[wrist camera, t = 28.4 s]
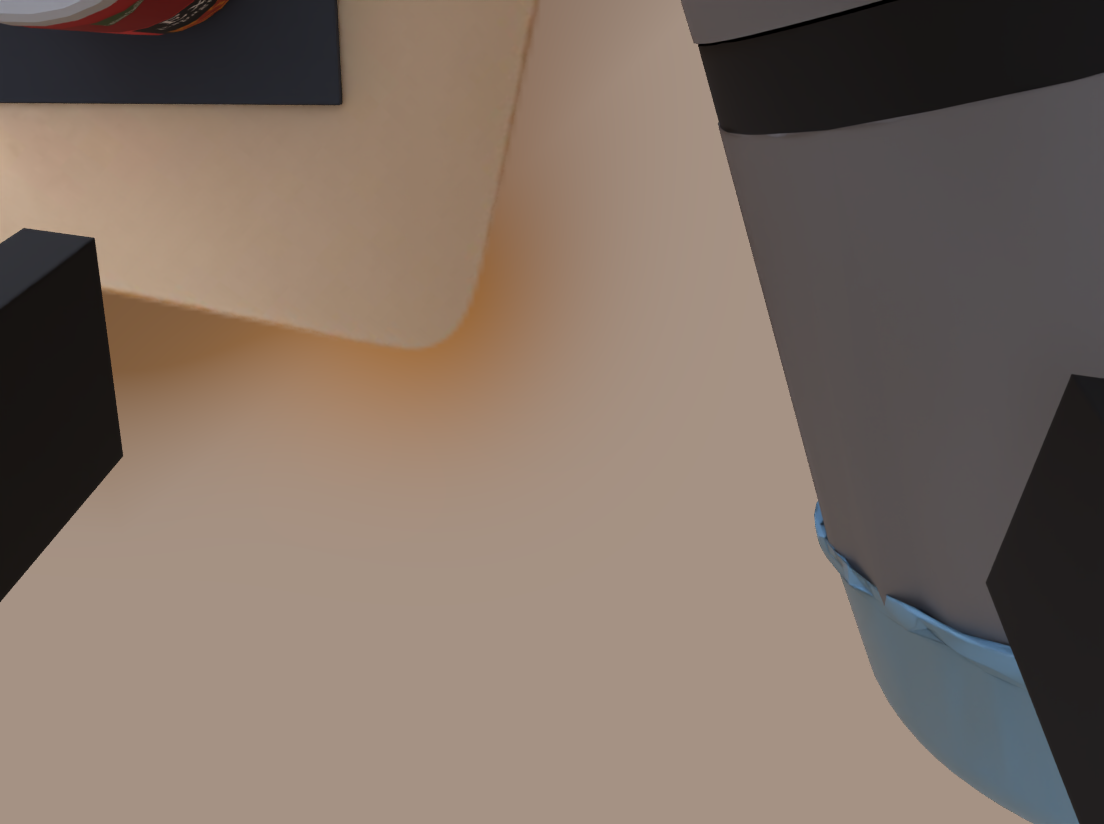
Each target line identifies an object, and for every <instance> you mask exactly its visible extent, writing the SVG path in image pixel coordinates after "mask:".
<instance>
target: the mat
mask: <svg viewBox="0 0 1104 824" xmlns="http://www.w3.org/2000/svg"><path fill="white" fill-rule="evenodd" d="M0 103H102V104H252V105H340V104H342V86H341V66H340V47H339V28H338V8H337V0H229V1H228V2H227V3H226V4H225V5H224V6H223V7H222V8H221V9H220V10H218V11H217V12H216V13H214V14H213V15H212V16H210V17H209V18H208V19H206V20H205V21H203V22H201V23H199V24H196V25H194V26H192V27H189V28H187V29H185V30H182V31H178V32H172V33H167V34H162V35H131V34H116V33H101V32H85V31H70V30H55V29H39V28H28V27H24V26H12V25H7V24H2V23H0Z"/></svg>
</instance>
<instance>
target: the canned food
mask: <svg viewBox="0 0 1104 824" xmlns="http://www.w3.org/2000/svg"><path fill="white" fill-rule="evenodd" d="M228 1H229V0H0V23H2V24H7V25H12V26H24V27H28V28H39V29H55V30H70V31H85V32H101V33H116V34H131V35H162V34H167V33H172V32H178V31H182V30H185V29H187V28H189V27H192V26H194V25H196V24H199V23H201V22H203V21H205V20H206V19H208V18H209V17H210V16H212V15H213V14H214V13H216V12H217V11H218V10H220V9H221V8H222V7H223V6H224V5H225V4H226V3H227V2H228Z"/></svg>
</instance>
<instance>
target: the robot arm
mask: <svg viewBox="0 0 1104 824" xmlns="http://www.w3.org/2000/svg"><path fill="white" fill-rule="evenodd" d="M681 3H682V6H683V9H684V13H685V16H686V19H687V23H688V26H689V29H690V32H691V36H692V39H693V41H694V43H696V44H698V47H699V50H700V54H701V58H702V61H703V65H704V69H705V72H706V76H707V80H708V83H709V87H710V90H711V94H712V98H713V102H714V105H715V109H716V113H717V116H718V120H719V123H718V125H719V130H720V134H721V137H722V141H723V145H724V148H725V152H726V156H727V160H728V163H729V167H730V171H731V175H732V179H733V182H734V186H735V190H736V194H737V197H738V201H739V205H740V209H741V212H742V216H743V220H744V223H745V227H746V231H747V235H748V239H749V242H750V246H751V250H752V254H753V257H754V261H755V265H756V269H757V272H758V276H759V280H760V284H761V287H762V291H763V295H764V299H765V302H766V306H767V310H768V313H769V317H770V321H771V325H772V328H773V332H774V336H775V340H776V343H777V347H778V351H779V355H780V359H781V362H782V366H783V370H784V373H785V377H786V381H787V385H788V388H789V392H790V396H791V400H792V403H793V407H794V411H795V415H796V418H797V422H798V426H799V429H800V433H801V437H802V441H803V445H804V448H805V452H806V456H807V459H808V463H809V467H810V471H811V475H812V478H813V482H814V486H815V490H816V493H817V497H818V502H817V504H816V509H815V514H814V517H815V527H816V532H817V537H818V541H819V544H820V546H821V548H822V550H823V552H824V554H825V555H826V557H827V558H828V559H829V561H830V562H831V563H832V564H833V566H834V567H835V568H836V569H837V570H838V572H839V573H840V575H841V578H842V581H843V584H844V587H845V590H846V593H847V596H848V599H849V602H850V605H851V607H852V611H853V614H854V617H855V620H856V623H857V626H858V628H859V632H860V635H861V638H862V640H863V644H864V646H865V649H866V652H867V655H868V658H869V661H870V664H871V667H872V669H873V672H874V675H875V677H876V679H877V681H878V683H879V685H880V686H881V689H882V691H883V693H884V694H885V696H886V698H887V700H888V702H889V703H890V705H891V706H892V707H893V709H894V710H895V712H896V713H897V715H898V716H899V718H900V719H901V720H902V721H903V723H904V724H905V725H906V727H907V728H908V729H909V730H910V731H911V732H912V734H913V735H914V736H915V737H916V738H917V739H918V740H919V742H920V743H921V744H922V745H923V746H924V747H925V748H926V749H927V750H929V752H930V753H931V754H932V755H933V756H934V757H936V758H937V759H938V760H939V761H940V762H941V763H942V764H944V765H945V766H946V767H947V768H948V769H949V770H951V771H952V772H953V773H954V774H956V775H957V776H958V777H960V778H961V779H963V780H964V781H965V782H967V783H968V784H970V785H971V786H972V787H974V788H975V789H976V790H978V791H979V792H981V793H982V794H984V795H985V796H987V797H988V798H990V799H991V800H993V801H994V802H996V803H998V804H999V805H1001V806H1002V807H1004V808H1006V809H1008V810H1010V811H1011V812H1013V813H1015V814H1017V815H1018V816H1020V817H1022V818H1024V819H1026V820H1027V821H1029V822H1032V823H1034V824H1104V0H681ZM122 457H123V452H122V444H121V436H120V429H119V421H118V413H117V406H116V398H115V391H114V383H113V375H112V368H111V360H110V352H109V345H108V337H107V329H106V322H105V314H104V307H103V299H102V291H101V284H100V276H99V268H98V261H97V253H96V245H95V238H91V237H83V236H76V235H69V234H62V233H55V232H48V231H40V230H33V229H26V228H23V229H22V230H20V231H19V232H17V233H16V234H14V235H13V236H11V237H10V238H8V239H7V240H5V241H4V242H2V243H1V244H0V602H1V600H2V599H3V598H4V597H5V596H6V594H7V593H8V592H9V591H10V590H11V589H12V587H13V586H14V585H15V584H16V582H17V581H18V580H19V579H20V578H21V577H22V575H23V574H24V573H25V572H26V571H27V570H28V568H29V567H30V566H31V565H32V564H33V562H34V561H35V560H36V559H37V558H38V556H39V555H40V554H41V553H42V552H43V551H44V549H45V548H46V547H47V546H48V545H49V543H50V542H51V541H52V540H53V538H54V537H55V536H56V535H57V534H58V533H59V531H60V530H61V529H62V528H63V527H64V525H65V524H66V523H67V522H68V521H69V520H70V518H71V517H72V516H73V515H74V513H76V511H77V510H78V509H79V508H80V507H81V505H82V504H83V503H84V502H85V501H86V499H87V498H88V497H89V496H90V495H91V493H92V492H93V491H94V490H95V489H96V488H97V486H98V485H99V484H100V483H101V482H102V480H103V479H104V478H105V477H106V476H107V474H108V473H109V472H110V471H111V470H112V468H113V467H114V466H115V465H116V464H117V463H118V461H119V460H120V459H121V458H122Z"/></svg>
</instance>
